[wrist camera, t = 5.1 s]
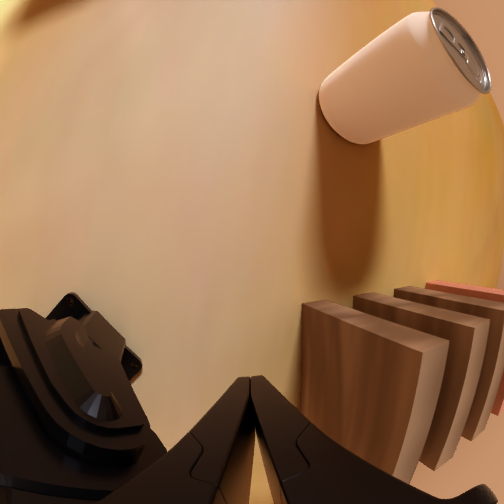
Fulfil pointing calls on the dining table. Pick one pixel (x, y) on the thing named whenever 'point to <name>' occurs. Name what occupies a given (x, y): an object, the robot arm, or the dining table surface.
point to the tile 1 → (370, 384)
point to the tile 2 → (456, 369)
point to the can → (405, 78)
